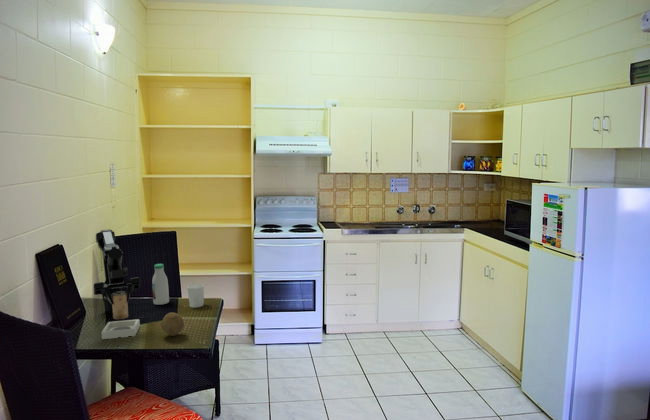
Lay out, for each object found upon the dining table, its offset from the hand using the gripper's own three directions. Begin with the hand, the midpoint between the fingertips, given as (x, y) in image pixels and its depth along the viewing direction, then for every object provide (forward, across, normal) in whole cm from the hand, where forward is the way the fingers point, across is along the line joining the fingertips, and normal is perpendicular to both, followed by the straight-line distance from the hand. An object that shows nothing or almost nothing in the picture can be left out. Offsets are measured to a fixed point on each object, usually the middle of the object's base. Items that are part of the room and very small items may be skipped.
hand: (120, 302), depth 212 cm
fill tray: (+9, 0, +10) cm, 13 cm away
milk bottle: (-16, +23, +35) cm, 45 cm away
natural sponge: (+20, +18, -1) cm, 27 cm away
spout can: (+4, 0, +6) cm, 7 cm away
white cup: (-5, +37, +24) cm, 45 cm away
